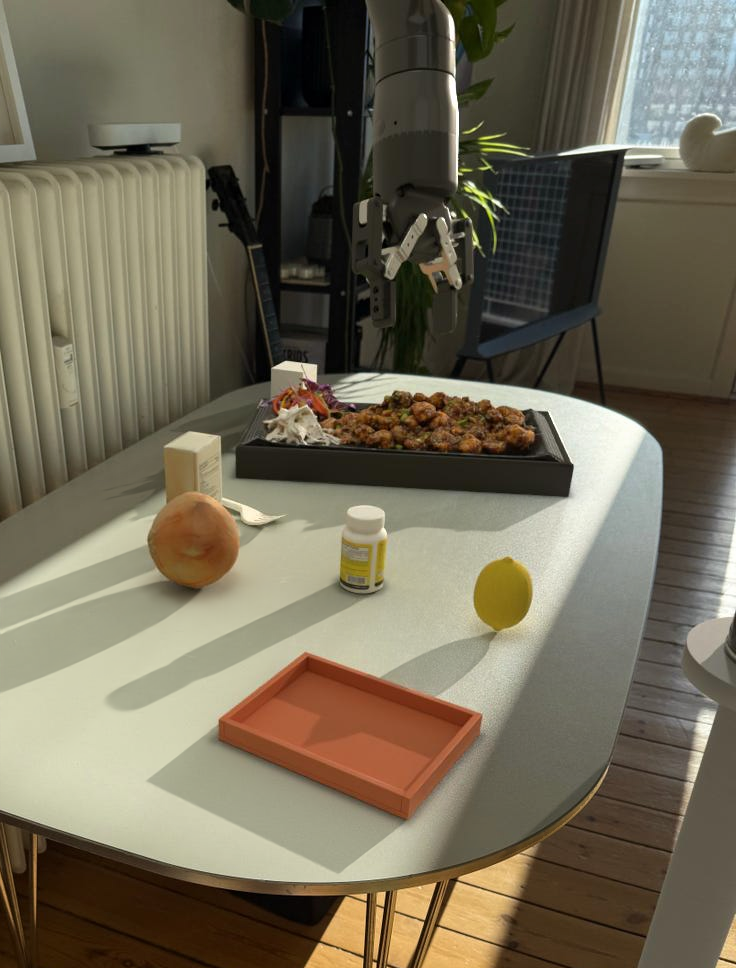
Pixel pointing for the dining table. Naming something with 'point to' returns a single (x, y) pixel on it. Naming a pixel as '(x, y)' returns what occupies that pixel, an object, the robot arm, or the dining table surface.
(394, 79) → the robot arm
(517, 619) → the lemon
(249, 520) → the fork
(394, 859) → the dining table surface
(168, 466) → the cosmetic box
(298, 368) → the off-white cube
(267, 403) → the food platter
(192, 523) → the onion
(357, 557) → the supplement bottle
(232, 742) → the tray
